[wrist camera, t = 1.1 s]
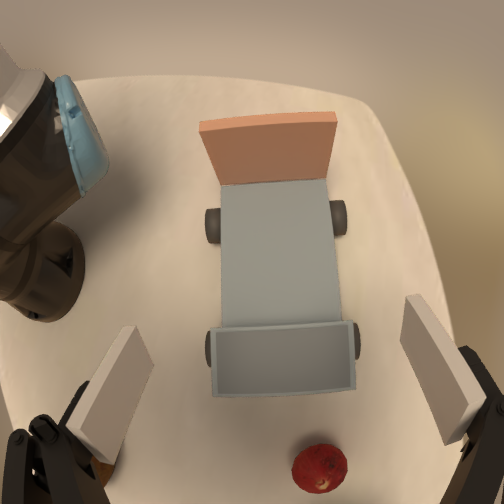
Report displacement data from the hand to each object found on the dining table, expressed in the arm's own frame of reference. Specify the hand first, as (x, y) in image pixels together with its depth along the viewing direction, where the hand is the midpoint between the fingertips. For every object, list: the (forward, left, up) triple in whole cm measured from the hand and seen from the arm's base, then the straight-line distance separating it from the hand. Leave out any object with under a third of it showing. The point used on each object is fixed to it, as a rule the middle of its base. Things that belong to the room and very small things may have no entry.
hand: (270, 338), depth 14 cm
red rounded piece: (+13, -9, -20) cm, 25 cm away
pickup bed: (-4, +5, -20) cm, 21 cm away
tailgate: (-11, +13, -16) cm, 23 cm away
